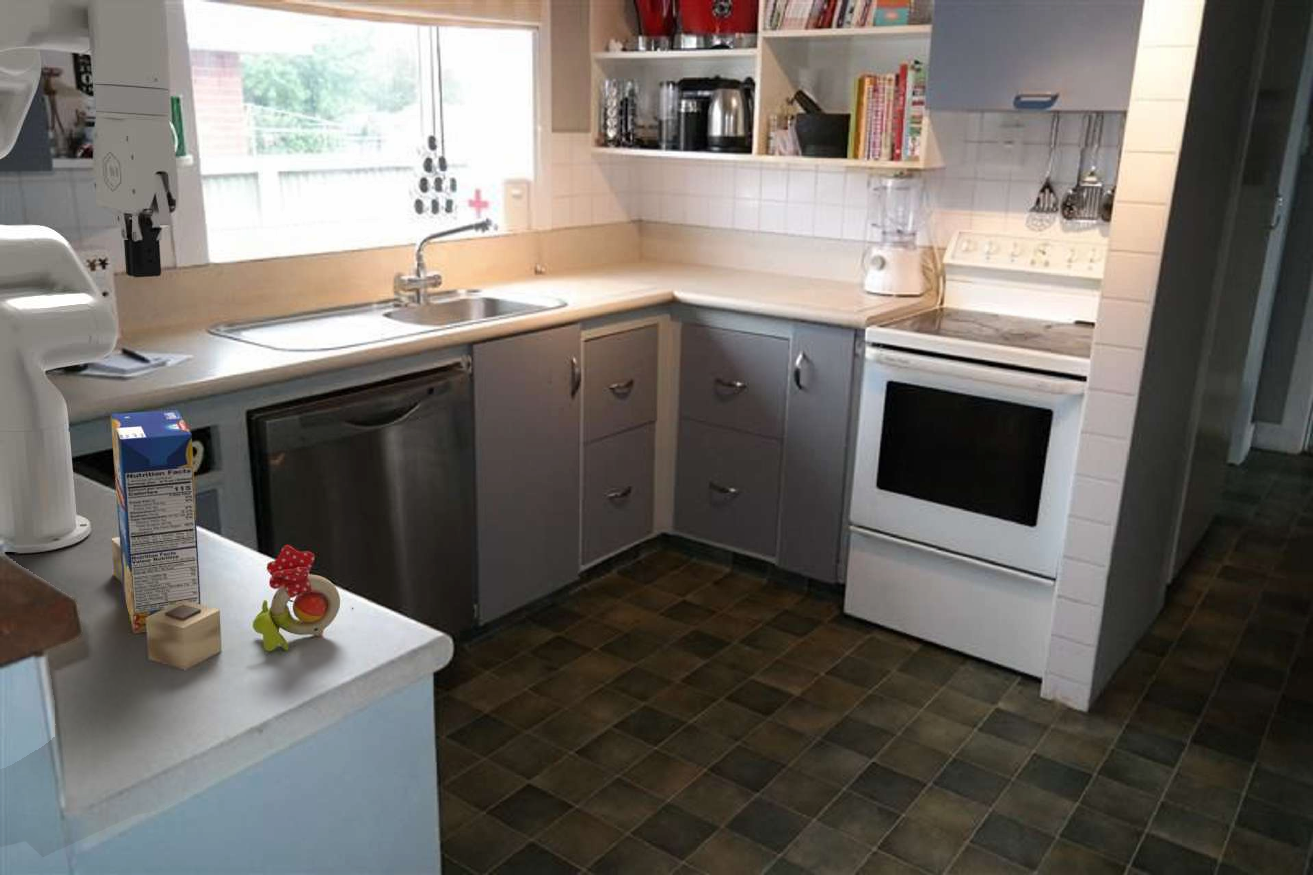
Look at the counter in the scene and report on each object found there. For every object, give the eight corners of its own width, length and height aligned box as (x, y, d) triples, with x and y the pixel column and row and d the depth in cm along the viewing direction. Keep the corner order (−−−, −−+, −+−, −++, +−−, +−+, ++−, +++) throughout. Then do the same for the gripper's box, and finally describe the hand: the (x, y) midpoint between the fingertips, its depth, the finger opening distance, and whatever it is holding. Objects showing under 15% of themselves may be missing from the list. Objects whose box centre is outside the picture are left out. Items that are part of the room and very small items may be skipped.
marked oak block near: (148, 659, 112) (145, 614, 110) (185, 640, 116) (183, 597, 115) (185, 670, 110) (182, 625, 109) (221, 651, 114) (219, 607, 113)
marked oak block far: (113, 575, 131) (111, 536, 130) (156, 566, 134) (154, 528, 133) (127, 589, 128) (124, 549, 126) (170, 579, 131) (168, 540, 130)
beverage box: (134, 633, 117) (120, 439, 111) (123, 595, 126) (110, 414, 120) (201, 622, 120) (191, 434, 114) (186, 586, 129) (176, 409, 123)
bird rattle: (310, 640, 122) (232, 624, 117) (348, 552, 122) (271, 532, 117) (324, 665, 117) (243, 649, 112) (364, 573, 117) (285, 552, 112)
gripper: (64, 100, 117) (77, 269, 122) (134, 105, 108) (146, 286, 113) (131, 105, 123) (142, 266, 127) (204, 110, 114) (211, 282, 119)
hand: (143, 275), depth 120 cm, fingers closed
